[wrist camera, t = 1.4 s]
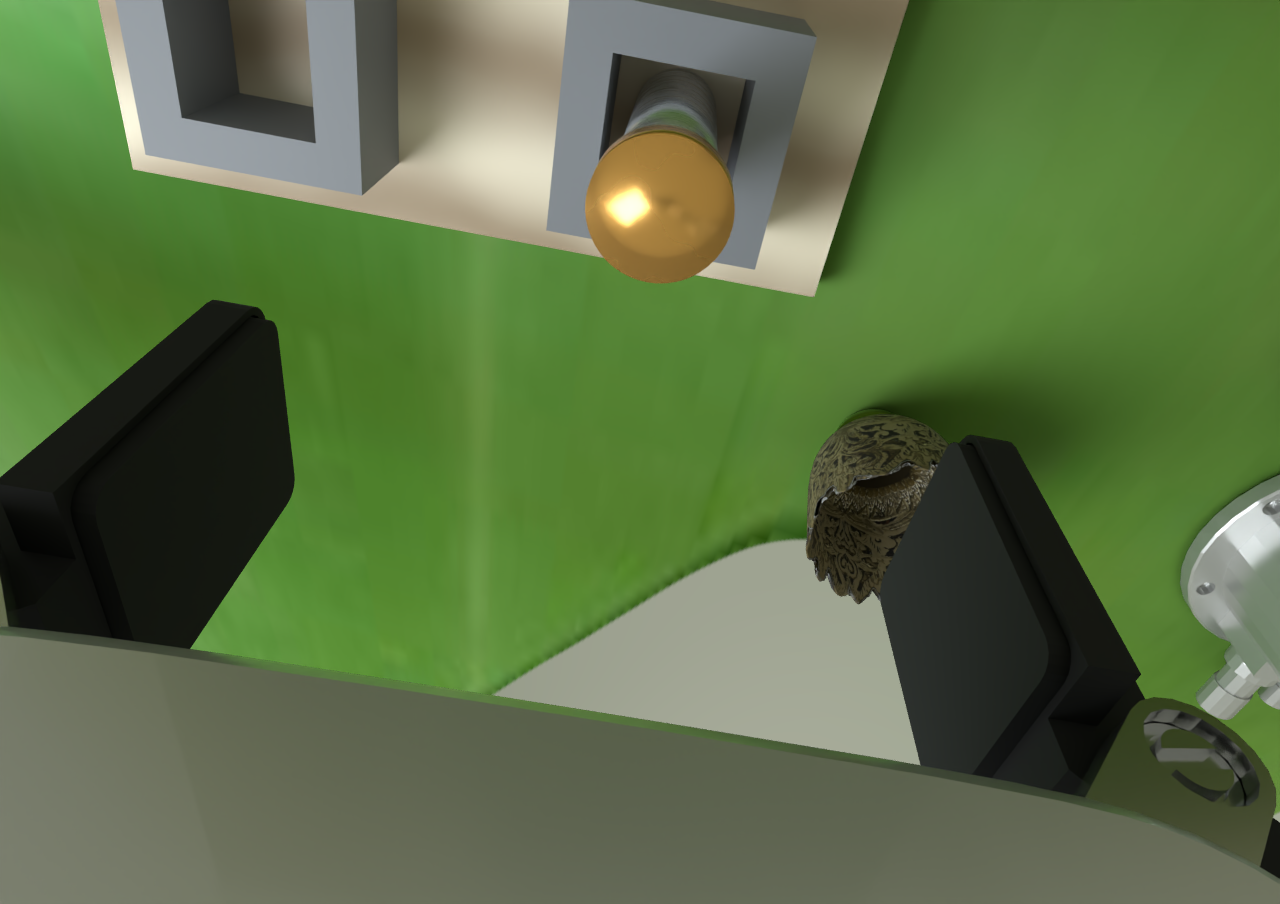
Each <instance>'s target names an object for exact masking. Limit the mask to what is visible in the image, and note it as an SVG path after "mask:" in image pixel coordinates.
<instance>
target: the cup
mask: <svg viewBox="0 0 1280 904" xmlns="http://www.w3.org/2000/svg"><path fill="white" fill-rule="evenodd" d="M948 446H949V444H948V443H947V442H946V441H945V440H944V439H943V438H942V437H941V436H940V435H939V434H938V433H937V432H935V431H934V430H933V429H932V428H930V427H929V426H927V425H925V424H923V423H921V422H919V421H917V420H915V419H912V418H910V417H906V416H902V415H895V414H893V413H891V412H889V411H886V410H882V409H866V410H862V411H859V412H856V413H854V414H852V415H851V416H849V417H848V418H847V419H845V420H844V421H843V422H842V423H841V425H840V426H839V428H838V429H837V431H836V432H835V433H834V434H832V435H831V436H830V437H829V438H828V439H827V440H826V442H825V443H824V444H823V446H822V447H821V449H820V451H819V452H818V454H817V456H816V458H815V460H814V463H813V467H812V470H811V474H810V480H809V487H808V508H807V541H806V554H807V558H808V559H809V560H812V561H814V565H815V573H816V576H817V578H818V580H819V581H824V580H825V578H826V576H828V579H829V582H830V584H831V587H832V589H833V590H834V592H835V593H836V594H837V595H839V596H846V595H849V596H851V597H852V598H853V600H854V601H855V602H856V603H857V604H860V603H862V602H863V601H864V600H865V599H866V598H867V597H869V596H870V594H871V592H872V591H873V592H874V593H875V595H876V596H877V598H878V600H879V601H880V588H881V583H882V579H883V576H884V574H885V572H886V570H887V568H888V566H889V564H890V562H891V560H892V558H893V556H894V554H895V552H896V550H897V548H898V546H899V543H900V541H901V539H902V537H903V535H904V533H905V531H906V529H907V527H908V525H909V523H910V521H911V519H912V517H913V515H914V513H915V511H916V509H917V507H918V505H919V503H920V501H921V499H922V497H923V495H924V492H925V490H926V488H927V486H928V484H929V482H930V480H931V478H932V476H933V474H934V472H935V470H936V468H937V466H938V464H939V462H940V460H941V458H942V456H943V454H944V452H945V450H946V448H947V447H948Z"/></svg>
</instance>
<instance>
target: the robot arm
mask: <svg viewBox="0 0 1280 904" xmlns="http://www.w3.org/2000/svg"><path fill="white" fill-rule="evenodd" d="M294 481H295V479H294V467H293V459H292V450H291V442H290V433H289V425H288V416H287V407H286V399H285V390H284V382H283V373H282V365H281V356H280V348H279V339H278V332H277V327H276V325H275V323H274V322H272V321H270V320H265V316H264V314H263V312H262V311H261V310H260V309H259V308H258V307H252V306H247V305H241V304H236V303H230V302H224V301H219V300H211V301H210V302H208V303H206V304H205V305H204V306H203V307H202V308H200V309H199V310H198V311H197V312H196V313H195V314H193V315H192V316H191V317H190V318H189V319H187V320H186V321H185V322H184V323H183V324H181V325H180V326H179V327H178V328H177V329H176V330H174V331H173V332H172V333H171V334H170V335H168V336H167V337H166V338H165V339H164V340H163V341H161V342H160V343H159V344H158V345H157V346H155V347H154V348H153V349H152V350H151V351H149V352H148V353H147V354H146V355H145V356H144V357H142V358H141V359H140V360H139V361H138V362H136V363H135V364H134V365H133V366H132V367H131V368H129V369H128V370H127V371H126V372H125V373H123V374H122V375H121V376H120V377H119V378H117V379H116V380H115V381H114V382H113V383H112V384H110V385H109V386H108V387H107V388H106V389H104V390H103V391H102V392H101V393H100V394H99V395H97V396H96V397H95V398H94V399H93V400H91V401H90V402H89V403H88V404H87V405H85V406H84V407H83V408H82V409H81V410H80V411H78V412H77V413H76V414H75V415H74V416H72V417H71V418H70V419H69V420H68V421H67V422H65V423H64V424H63V425H62V426H61V427H59V428H58V429H57V430H56V431H55V432H54V433H52V434H51V435H50V436H49V437H48V438H46V439H45V440H44V441H43V442H42V443H40V444H39V445H38V446H37V447H36V448H35V449H33V450H32V451H31V452H30V453H29V454H27V455H26V456H25V457H24V458H23V459H22V460H20V461H19V462H18V463H17V464H16V465H14V466H13V467H12V468H11V469H10V470H8V471H7V472H6V473H5V474H4V475H3V476H1V477H0V904H1280V823H1279V822H1278V821H1277V820H1275V819H1274V818H1273V815H1274V811H1275V808H1276V788H1275V786H1274V783H1273V781H1272V778H1271V776H1270V773H1269V771H1268V769H1267V768H1266V767H1265V765H1264V764H1263V762H1262V761H1261V760H1260V758H1259V757H1258V755H1257V754H1256V753H1255V751H1254V750H1253V749H1252V748H1251V747H1250V746H1249V745H1248V744H1247V743H1246V742H1245V741H1244V740H1243V739H1242V738H1241V737H1240V736H1239V735H1238V734H1237V733H1235V732H1234V731H1233V730H1231V729H1230V728H1229V727H1227V726H1226V725H1225V724H1223V723H1222V722H1220V721H1219V720H1218V719H1216V718H1215V717H1217V718H1220V719H1224V720H1227V719H1232V718H1233V717H1234V716H1235V715H1236V714H1237V713H1238V712H1239V711H1240V710H1241V709H1242V708H1243V707H1244V706H1245V705H1246V704H1247V703H1248V702H1249V701H1250V700H1251V698H1252V696H1253V693H1254V692H1255V691H1256V690H1257V689H1258V688H1259V687H1260V686H1261V687H1260V688H1259V690H1258V694H1259V697H1260V698H1261V699H1262V700H1263V701H1264V702H1265V703H1267V704H1268V705H1270V706H1271V707H1274V708H1276V709H1280V475H1278V476H1276V477H1273V478H1271V479H1269V480H1267V481H1265V482H1263V483H1260V484H1259V485H1257V486H1255V487H1254V488H1252V489H1251V490H1249V491H1247V492H1246V493H1244V494H1242V495H1241V496H1239V497H1237V498H1236V499H1235V500H1233V501H1232V502H1231V503H1230V504H1228V505H1227V506H1226V507H1225V508H1223V509H1222V510H1221V511H1220V512H1218V513H1217V514H1216V515H1215V516H1214V517H1213V518H1212V519H1211V520H1210V521H1209V523H1208V524H1207V525H1206V526H1205V527H1204V528H1203V529H1202V530H1201V531H1200V532H1199V534H1198V535H1197V537H1196V538H1195V540H1194V541H1193V543H1192V545H1191V546H1190V548H1189V549H1188V551H1187V554H1186V557H1185V559H1184V562H1183V565H1182V568H1181V579H1180V585H1181V589H1182V594H1183V598H1184V600H1185V601H1186V603H1187V605H1188V606H1189V608H1190V610H1191V611H1192V613H1193V615H1194V616H1195V617H1196V618H1197V620H1198V621H1199V622H1200V623H1201V624H1202V625H1203V627H1204V628H1206V629H1207V630H1209V631H1210V632H1211V633H1213V634H1214V635H1216V636H1217V637H1219V638H1222V639H1224V640H1227V641H1229V642H1230V643H1231V645H1230V647H1229V648H1228V649H1227V650H1226V651H1225V654H1224V658H1225V660H1226V662H1227V663H1226V664H1225V665H1224V667H1223V668H1222V669H1221V670H1220V671H1219V670H1218V671H1217V672H1215V673H1214V674H1213V675H1212V676H1211V677H1210V678H1209V679H1208V680H1207V682H1206V683H1205V684H1204V685H1203V686H1202V687H1201V688H1200V689H1199V690H1198V691H1197V692H1196V699H1197V701H1198V703H1199V704H1200V706H1201V707H1202V708H1204V709H1205V710H1206V711H1207V712H1208V713H1210V714H1211V715H1213V716H1215V717H1213V716H1211V715H1209V714H1207V713H1206V712H1204V711H1202V710H1200V709H1198V708H1196V707H1194V706H1192V705H1189V704H1186V703H1183V702H1180V701H1177V700H1174V699H1167V698H1157V697H1153V698H1149V699H1145V698H1144V696H1143V694H1142V692H1141V691H1140V689H1139V687H1138V685H1137V683H1136V680H1137V679H1138V677H1139V676H1140V675H1141V673H1140V672H1139V670H1138V668H1137V666H1136V664H1135V662H1134V661H1133V659H1132V657H1131V655H1130V653H1129V652H1128V650H1127V648H1126V646H1125V644H1124V643H1123V641H1122V639H1121V637H1120V635H1119V634H1118V632H1117V630H1116V628H1115V626H1114V624H1113V623H1112V621H1111V619H1110V617H1109V615H1108V614H1107V612H1106V610H1105V608H1104V606H1103V605H1102V603H1101V601H1100V599H1099V597H1098V596H1097V594H1096V592H1095V590H1094V588H1093V586H1092V585H1091V583H1090V581H1089V579H1088V577H1087V576H1086V574H1085V572H1084V570H1083V568H1082V567H1081V565H1080V563H1079V561H1078V559H1077V557H1076V556H1075V554H1074V552H1073V550H1072V548H1071V547H1070V545H1069V543H1068V541H1067V539H1066V538H1065V536H1064V534H1063V532H1062V530H1061V529H1060V527H1059V525H1058V523H1057V521H1056V519H1055V518H1054V516H1053V514H1052V512H1051V510H1050V509H1049V507H1048V505H1047V503H1046V501H1045V500H1044V498H1043V496H1042V494H1041V492H1040V491H1039V489H1038V487H1037V485H1036V483H1035V481H1034V480H1033V478H1032V476H1031V474H1030V472H1029V471H1028V469H1027V467H1026V465H1025V463H1024V462H1023V460H1022V458H1021V456H1020V454H1019V453H1018V451H1017V449H1016V447H1015V446H1014V445H1013V444H1012V443H1011V442H1008V441H1002V440H997V439H991V438H985V437H980V436H974V435H969V436H966V437H965V438H964V439H963V440H962V441H961V442H960V443H955V442H954V443H951V444H950V445H949V446H948V447H947V448H946V450H945V452H944V454H943V456H942V458H941V460H940V462H939V464H938V466H937V468H936V470H935V472H934V474H933V476H932V478H931V480H930V482H929V484H928V486H927V488H926V490H925V492H924V495H923V497H922V499H921V501H920V503H919V505H918V507H917V509H916V511H915V513H914V515H913V517H912V519H911V521H910V523H909V525H908V527H907V529H906V531H905V533H904V535H903V537H902V539H901V541H900V543H899V546H898V548H897V550H896V552H895V554H894V556H893V558H892V560H891V562H890V564H889V566H888V568H887V570H886V572H885V574H884V576H883V579H882V583H881V588H880V601H881V606H882V610H883V614H884V618H885V622H886V626H887V630H888V634H889V638H890V643H891V647H892V651H893V655H894V659H895V663H896V667H897V671H898V675H899V679H900V683H901V687H902V691H903V695H904V700H905V704H906V707H907V712H908V715H909V719H910V724H911V728H912V732H913V736H914V740H915V744H916V748H917V752H918V757H919V760H920V765H914V764H910V763H904V762H899V761H893V760H887V759H881V758H875V757H869V756H863V755H857V754H851V753H845V752H839V751H833V750H827V749H820V748H815V747H809V746H802V745H797V744H790V743H784V742H778V741H772V740H766V739H760V738H754V737H748V736H742V735H735V734H730V733H724V732H718V731H712V730H706V729H700V728H694V727H687V726H681V725H675V724H669V723H662V722H656V721H650V720H644V719H638V718H631V717H625V716H619V715H613V714H606V713H600V712H594V711H587V710H581V709H575V708H569V707H563V706H556V705H549V704H544V703H537V702H531V701H525V700H519V699H512V698H506V697H500V696H493V695H487V694H481V693H474V692H468V691H462V690H455V689H449V688H443V687H436V686H430V685H423V684H417V683H410V682H404V681H397V680H391V679H384V678H378V677H371V676H365V675H358V674H352V673H345V672H339V671H332V670H326V669H320V668H313V667H307V666H300V665H294V664H287V663H281V662H274V661H268V660H261V659H255V658H248V657H242V656H235V655H229V654H221V653H214V652H207V651H200V650H193V649H190V648H191V646H192V645H193V643H194V642H195V641H196V639H197V638H198V636H199V635H200V633H201V632H202V630H203V629H204V627H205V626H206V624H207V623H208V621H209V620H210V618H211V617H212V615H213V614H214V612H215V611H216V609H217V608H218V606H219V605H220V603H221V602H222V600H223V599H224V597H225V596H226V594H227V593H228V591H229V590H230V588H231V587H232V585H233V584H234V582H235V581H236V579H237V578H238V577H239V575H240V574H241V572H242V571H243V569H244V568H245V566H246V565H247V563H248V562H249V560H250V559H251V557H252V556H253V554H254V553H255V551H256V550H257V548H258V547H259V545H260V544H261V542H262V541H263V539H264V538H265V536H266V535H267V533H268V532H269V530H270V529H271V527H272V526H273V524H274V523H275V521H276V520H277V518H278V517H279V515H280V514H281V512H282V511H283V510H284V508H285V507H286V505H287V504H288V502H289V500H290V498H291V495H292V492H293V488H294Z"/></svg>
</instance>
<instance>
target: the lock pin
mask: <svg viewBox="0 0 1280 904" xmlns="http://www.w3.org/2000/svg"><path fill="white" fill-rule="evenodd" d="M734 214H735V204H734V191H733V184H732V179H731V176H730V173H729V170H728V168H727V166H726V164H725V162H724V160H723V158H722V157H721V156H720V154H719V153H718V151H717V109H716V102H715V98H714V95H713V93H712V91H711V89H710V87H709V86H708V84H707V83H706V82H705V81H704V80H703V79H702V78H701V77H700V76H698V75H697V74H695V73H693V72H691V71H688V70H685V69H667V70H664V71H661V72H659V73H657V74H655V75H654V76H652V77H651V78H650V79H649V80H648V81H647V82H646V83H645V84H644V86H643V87H642V89H641V90H640V92H639V94H638V97H637V100H636V103H635V105H634V108H633V111H632V114H631V117H630V119H629V122H628V125H627V128H626V131H625V133H624V136H622V137H621V138H619V139H618V140H617V141H615V142H614V143H613V144H612V145H611V146H610V147H609V148H608V149H607V150H606V152H605V153H604V154H603V156H602V157H601V159H600V160H599V162H598V164H597V166H596V168H595V171H594V173H593V176H592V178H591V180H590V183H589V186H588V189H587V194H586V201H585V215H586V222H587V227H588V230H589V233H590V236H591V238H592V240H593V242H594V244H595V246H596V248H597V249H598V251H599V252H600V254H601V255H602V256H603V257H604V258H605V259H606V261H608V262H609V263H610V264H611V265H612V266H613V267H614V268H616V269H617V270H619V271H620V272H622V273H624V274H626V275H627V276H629V277H632V278H634V279H637V280H641V281H645V282H651V283H671V282H677V281H681V280H684V279H687V278H689V277H692V276H694V275H696V274H698V273H699V272H701V271H702V270H704V269H705V268H707V267H708V266H709V265H710V264H711V263H712V262H713V261H714V260H715V259H716V258H717V257H718V256H719V254H720V253H721V252H722V250H723V249H724V247H725V245H726V243H727V241H728V239H729V237H730V234H731V231H732V228H733V223H734Z"/></svg>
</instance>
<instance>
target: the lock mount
mask: <svg viewBox="0 0 1280 904" xmlns="http://www.w3.org/2000/svg"><path fill="white" fill-rule="evenodd" d="M816 40H817V36H816V35H815V33H814V32H813V31H812V29H811V28H810V26H809V25H808V24H807V22H806V21H805V19H800V18H795V17H790V16H785V15H780V14H775V13H770V12H765V11H760V10H755V9H750V8H745V7H740V6H735V5H730V4H726V3H721V2H716V1H711V0H569V7H568V17H567V27H566V37H565V47H564V57H563V67H562V77H561V87H560V97H559V108H558V118H557V128H556V138H555V148H554V158H553V168H552V178H551V188H550V198H549V208H548V218H547V228H546V231H551V232H557V233H562V234H567V235H573V236H578V237H583V238H589V239H592V238H591V236H590V233H589V230H588V227H587V222H586V215H585V201H586V194H587V189H588V186H589V183H590V180H591V178H592V176H593V173H594V171H595V168H596V166H597V164H598V162H599V160H600V159H601V157H602V156H603V154H604V153H605V152H606V150H607V149H608V148H609V142H610V135H611V128H612V120H613V113H614V106H615V99H616V91H617V84H618V77H619V70H620V63H621V55H627V56H632V57H637V58H642V59H647V60H652V61H657V62H662V63H667V64H672V65H677V66H682V67H687V68H692V69H698V70H703V71H708V72H713V73H718V74H723V75H728V76H733V77H738V78H743V79H746V81H745V86H744V90H743V94H742V99H741V103H740V108H739V112H738V116H737V121H736V125H735V130H734V134H733V139H732V143H731V147H730V152H729V156H728V161H727V165H726V166H727V168H728V170H729V173H730V176H731V179H732V184H733V191H734V204H735V214H734V223H733V228H732V231H731V234H730V237H729V239H728V241H727V243H726V245H725V247H724V249H723V250H722V252H721V253H720V254H719V256H718V257H717V258H716V259H715V260H714V261H713V262H716V263H721V264H726V265H732V266H737V267H742V268H748V269H753V270H755V268H756V264H757V260H758V257H759V253H760V249H761V245H762V242H763V238H764V234H765V230H766V227H767V223H768V219H769V215H770V212H771V208H772V204H773V201H774V197H775V193H776V189H777V186H778V182H779V178H780V174H781V171H782V167H783V163H784V159H785V156H786V152H787V148H788V144H789V141H790V137H791V133H792V129H793V126H794V122H795V118H796V115H797V111H798V107H799V103H800V100H801V96H802V92H803V88H804V85H805V81H806V77H807V73H808V70H809V66H810V62H811V58H812V55H813V51H814V47H815V43H816Z"/></svg>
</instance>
